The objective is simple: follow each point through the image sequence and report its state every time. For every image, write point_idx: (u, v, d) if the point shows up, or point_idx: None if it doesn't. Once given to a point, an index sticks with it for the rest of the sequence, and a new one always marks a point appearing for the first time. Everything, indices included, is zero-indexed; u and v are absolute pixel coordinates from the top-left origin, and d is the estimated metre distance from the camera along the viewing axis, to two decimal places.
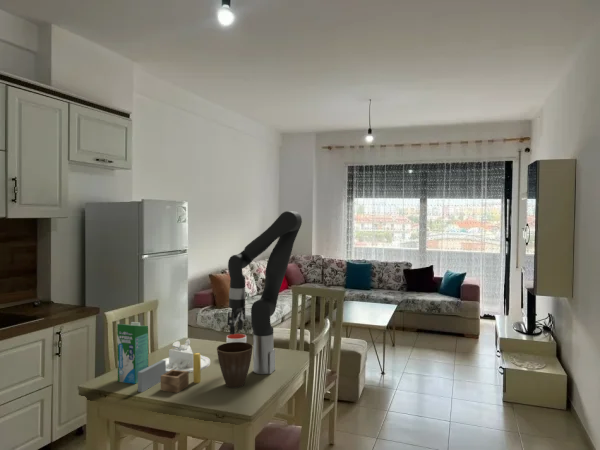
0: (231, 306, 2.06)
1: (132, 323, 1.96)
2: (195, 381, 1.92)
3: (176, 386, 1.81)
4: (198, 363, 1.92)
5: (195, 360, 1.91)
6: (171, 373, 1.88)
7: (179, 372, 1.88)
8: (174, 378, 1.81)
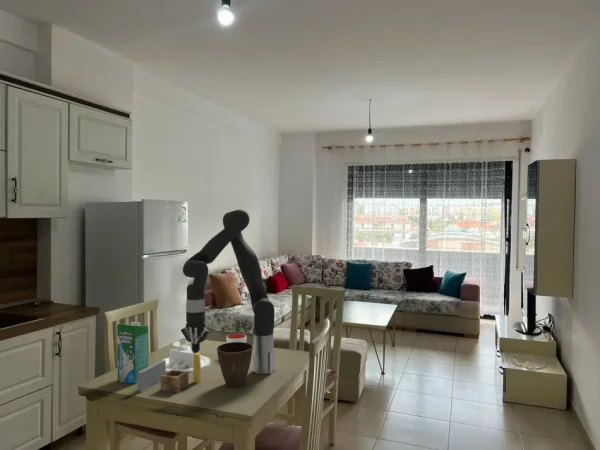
0: (201, 320, 1.80)
1: (132, 323, 1.96)
2: (195, 381, 1.92)
3: (176, 386, 1.81)
4: (198, 363, 1.92)
5: (195, 360, 1.91)
6: (171, 373, 1.88)
7: (179, 372, 1.88)
8: (174, 378, 1.81)
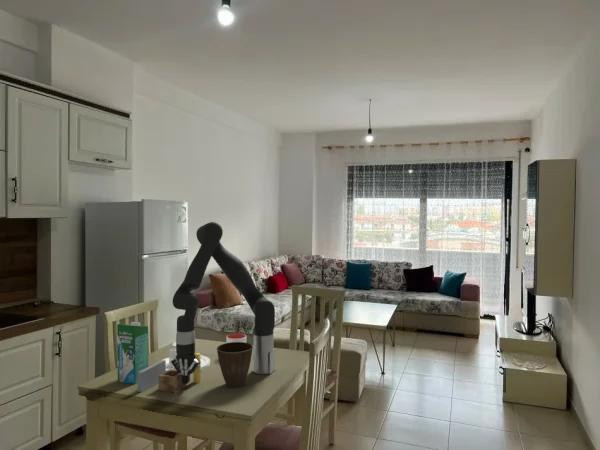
0: (191, 352, 1.82)
1: (132, 323, 1.96)
2: (195, 381, 1.92)
3: (174, 386, 1.81)
4: None
5: None
6: (169, 373, 1.89)
7: (177, 372, 1.89)
8: (172, 378, 1.82)
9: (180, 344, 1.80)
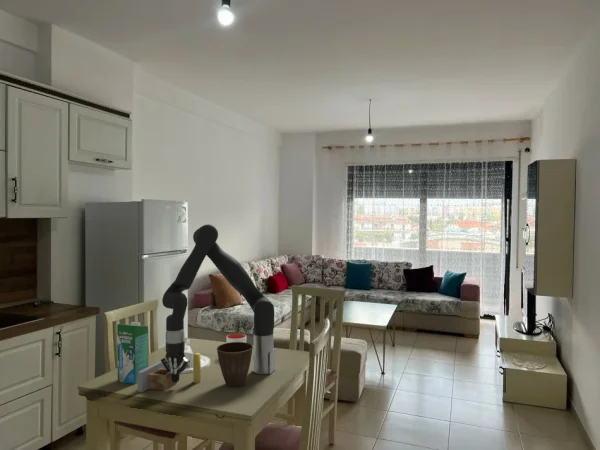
0: (181, 350, 1.83)
1: (132, 323, 1.96)
2: (195, 381, 1.92)
3: (163, 384, 1.83)
4: (198, 363, 1.92)
5: (195, 360, 1.91)
6: (159, 371, 1.90)
7: None
8: (161, 376, 1.83)
9: (169, 343, 1.82)
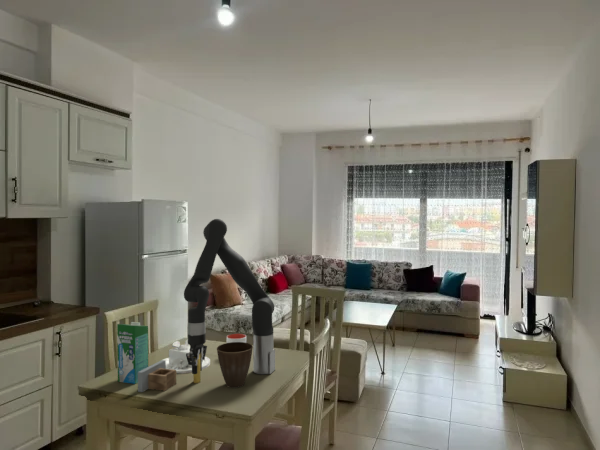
0: None
1: (132, 323, 1.96)
2: (195, 381, 1.92)
3: (163, 384, 1.83)
4: (198, 363, 1.92)
5: None
6: (159, 371, 1.90)
7: (167, 370, 1.90)
8: (161, 376, 1.83)
9: (204, 333, 1.91)
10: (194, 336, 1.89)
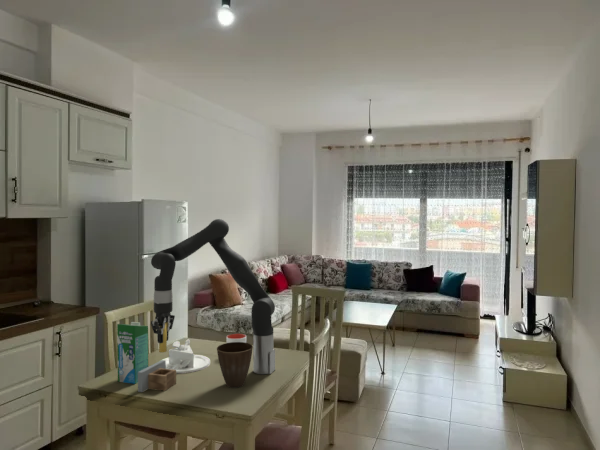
0: None
1: (132, 323, 1.96)
2: (161, 350, 1.87)
3: (163, 384, 1.83)
4: (164, 332, 1.87)
5: None
6: (159, 371, 1.90)
7: (167, 370, 1.90)
8: (161, 376, 1.83)
9: (170, 302, 1.87)
10: (160, 304, 1.84)
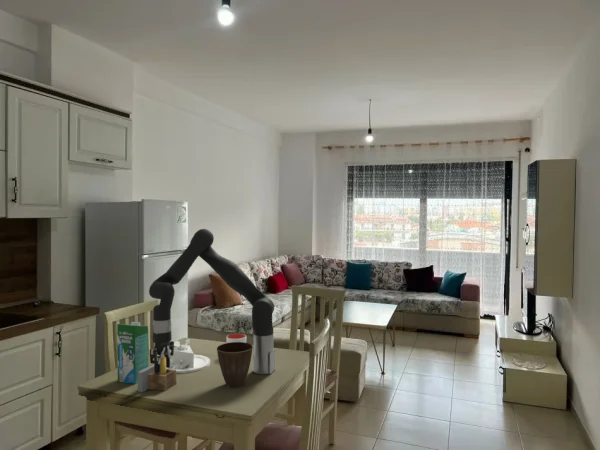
0: None
1: (132, 323, 1.96)
2: None
3: (163, 384, 1.83)
4: (163, 367, 1.87)
5: (160, 364, 1.86)
6: None
7: (167, 370, 1.90)
8: (161, 376, 1.83)
9: (169, 331, 1.86)
10: (159, 334, 1.84)
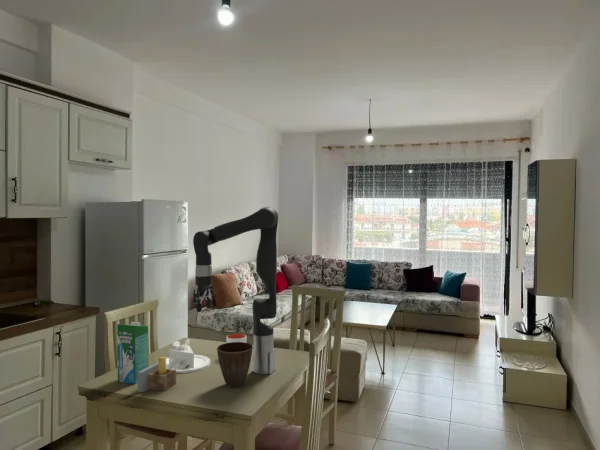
0: None
1: (132, 323, 1.96)
2: None
3: (163, 384, 1.83)
4: (163, 367, 1.87)
5: (160, 364, 1.86)
6: None
7: (167, 370, 1.90)
8: (161, 376, 1.83)
9: (210, 275, 2.05)
10: (201, 277, 2.02)
